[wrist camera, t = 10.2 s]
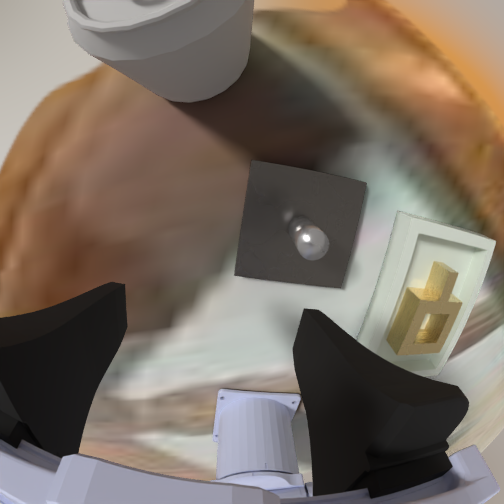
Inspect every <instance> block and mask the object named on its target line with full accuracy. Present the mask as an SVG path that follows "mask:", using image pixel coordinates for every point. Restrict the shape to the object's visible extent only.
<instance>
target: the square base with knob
mask: <svg viewBox="0 0 504 504" xmlns="http://www.w3.org/2000/svg"><path fill="white" fill-rule="evenodd" d="M366 184H367V183H366V182H362V181H358V180H354V179H349V178H345V177H341V176H336V175H332V174H327V173H322V172H317V171H313V170H308V169H302V168H297V167H292V166H286V165H281V164H275V163H269V162H263V161H256V160H251V165H250V172H249V178H248V184H247V191H246V197H245V204H244V211H243V217H242V224H241V230H240V237H239V244H238V251H237V258H236V265H235V272H234V276H242V277H249V278H257V279H265V280H273V281H282V282H290V283H299V284H307V285H316V286H325V287H334V288H341V285H342V282H343V279H344V275H345V271H346V268H347V264H348V261H349V257H350V253H351V249H352V245H353V241H354V237H355V233H356V229H357V225H358V221H359V216H360V212H361V207H362V203H363V198H364V193H365V189H366Z"/></svg>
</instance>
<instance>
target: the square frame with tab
mask: <svg viewBox="0 0 504 504" xmlns="http://www.w3.org/2000/svg"><path fill="white" fill-rule="evenodd" d="M458 274H459V273H458V272H456V271H455V270H454V269H452V268H451V267H449V266H448V265H446V264H445V263H443V262H437V261H434V262H433V265H432V268H431V271H430V274H429V277H428V280H427V283H426V286H425V289H424V288H413V287H407V288H406V290H405V293H404V296H403V299H402V301H401V304H400V307H399V309H398V312H397V315H396V317H395V320H394V322H393V325H392V327H391V329H390V332H389V334H388V337H387V339H386V340H387V342H388V343H389V345H390V346H391V348H392V349H393V351H394V352H395V354H396V355H417V354H431V353H440V351H441V349H442V347H443V345H444V343H445V341H446V339H447V337H448V335H449V333H450V331H451V329H452V327H453V324H454V322H455V320H456V318H457V315H458V313H459V311H460V308H461V306H462V304H463V302H462V301H461V300H459V299H458V298H457V297H456V296H454V295H453V294H452V290H453V288H454V285H455V282H456V280H457V277H458ZM426 314H431V315H430V317H429V320H428V322H427V324H426V327H425V329H420V327H421V324H422V322H423V320H424V317H425V315H426Z"/></svg>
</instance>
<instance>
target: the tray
mask: <svg viewBox="0 0 504 504" xmlns="http://www.w3.org/2000/svg"><path fill="white" fill-rule="evenodd" d="M495 243H496V241H494V240H492V239H490V238H488V237H486V236H484V235H482V234H479V233H476V232H473V231H469V230H466V229H463V228H459V227H456V226H453V225H449V224H446V223H442V222H438V221H435V220H431V219H428V218H424V217H420V216H416V215H412V214H408V213H404V212H400V211H397V214H396V218H395V222H394V226H393V230H392V234H391V237H390V241H389V245H388V248H387V252H386V255H385V259H384V262H383V266H382V269H381V272H380V275H379V279H378V282H377V285H376V288H375V291H374V294H373V297H372V300H371V303H370V305H369V308H368V311H367V314H366V317H365V319H364V322H363V325H362V327H361V330H360V332H359V335H358V338H357V341H358V342H359V343H361V344H362V345H363V346H365V347H366V348H368V349H369V350H371V351H372V352H374V353H375V354H377V355H378V356H380V357H382V358H384V359H385V360H387V361H389V362H391V363H393V364H394V365H397V366H399V367H401V368H403V369H405V370H407V371H410V372H412V373H415V374H417V375H420V376H423V377H429V376H437V375H439V373H440V372H441V370H442V368H443V366H444V365H445V363H446V361H447V359H448V358H449V356H450V354H451V352H452V350H453V348H454V346H455V344H456V342H457V340H458V338H459V336H460V334H461V332H462V330H463V328H464V326H465V324H466V322H467V320H468V317H469V315H470V313H471V311H472V308H473V306H474V303H475V301H476V299H477V296H478V294H479V291H480V288H481V286H482V283H483V280H484V278H485V275H486V272H487V269H488V266H489V263H490V260H491V257H492V254H493V250H494V247H495ZM434 261H437V262H443V263H445V264H446V265H448V266H449V267H451V268H452V269H454V270H455V271H456V272H458V273H459V274H458V277H457V280H456V282H455V285H454V288H453V290H452V294H453V295H454V296H456V297H457V298H458V299H459V300H461V301H462V302H463V304H462V306H461V308H460V311H459V313H458V315H457V318H456V320H455V322H454V324H453V327H452V329H451V331H450V333H449V335H448V337H447V339H446V341H445V343H444V345H443V347H442V349H441V351H440V353H431V354H417V355H396V354H395V352H394V351H393V349H392V348H391V346H390V345H389V343H388V342H387V340H386V339H387V337H388V334H389V332H390V329H391V327H392V325H393V322H394V320H395V317H396V315H397V312H398V309H399V307H400V304H401V301H402V299H403V296H404V293H405V290H406V288H407V287H413V288H424V289H425V286H426V283H427V280H428V277H429V274H430V271H431V268H432V265H433V262H434ZM430 315H431V314H426V315H425V317H424V320H423V322H422V324H421V327H420V329H425V327H426V324H427V322H428V320H429V317H430Z"/></svg>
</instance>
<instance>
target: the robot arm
mask: <svg viewBox="0 0 504 504" xmlns="http://www.w3.org/2000/svg"><path fill="white" fill-rule="evenodd" d="M126 329H127V313H126V295H125V284H120V283H115V282H110V283H107V284H104V285H102V286H99V287H97V288H95V289H92V290H90V291H88V292H86V293H84V294H81V295H79V296H77V297H75V298H72V299H70V300H67V301H65V302H62V303H60V304H57V305H54V306H52V307H49V308H46V309H42V310H39V311H35V312H31V313H26V314H21V315H16V316H11V317H3V318H0V503H1V504H484V503H485V502H486V501H488V500H489V499H490V498H491V497H493V496H494V495H495V494H497V493H498V492H499V491H500V487H499V485H498V483H497V482H496V480H495V478H494V476H493V474H492V473H491V471H490V469H489V467H488V466H487V464H486V462H485V460H484V458H483V457H482V456H481V453H480V452H479V450H478V448H477V447H476V445H471V446H469V447H467V448H464V449H462V450H460V451H457V452H455V453H453V454H452V455H451V456H449V457H448V456H447V454H446V453H445V451H446V450H447V449H448V448H449V445H448V443H447V441H446V439H447V438H448V437H449V435H450V434H451V433H452V432H453V431H454V430H455V428H456V427H457V426H458V425H459V423H460V422H461V421H462V419H463V418H464V417H465V415H466V413H467V410H468V406H469V401H468V399H467V398H466V396H465V395H464V394H463V392H462V391H461V390H460V388H459V387H458V386H455V385H451V384H447V383H443V382H439V381H435V380H431V379H428V378H426V377H423V376H420V375H417V374H415V373H412V372H410V371H407V370H405V369H403V368H401V367H399V366H397V365H394V364H393V363H391V362H389V361H387V360H385V359H384V358H382V357H380V356H378V355H377V354H375V353H374V352H372V351H371V350H369V349H368V348H366V347H365V346H363V345H362V344H361V343H359V342H358V341H357V340H355V339H354V338H353V337H351V336H350V335H349V334H348V333H346V332H345V331H344V330H343V329H342V328H340V327H339V326H338V325H337V324H336V323H334V322H333V321H332V320H331V319H330V318H329V317H327V316H326V315H325V314H324V313H322V312H321V311H319V310H315V309H304V310H303V314H302V317H301V321H300V325H299V328H298V332H297V335H296V339H295V342H294V346H293V358H294V367H295V372H296V376H297V380H298V384H299V388H300V391H301V395H302V399H303V403H304V407H305V410H306V415H307V420H308V428H309V436H310V446H311V457H312V477H313V483H312V482H308V483H305V486H304V481H303V475H302V474H301V473H300V474H299V468H298V462H297V456H296V450H295V444H294V438H293V433H292V427H291V421H292V419H293V417H294V414H295V412H296V410H297V407H298V405H299V402H300V400H301V396H300V395H299V394H289V393H267V392H252V391H240V390H230V389H220V390H219V391H218V398H217V406H216V414H215V422H214V431H213V441H214V442H218V450H217V469H216V480H211V481H203V480H195V479H187V478H181V477H175V476H169V475H164V474H159V473H154V472H149V471H145V470H141V469H136V468H132V467H129V466H125V465H121V464H118V463H114V462H111V461H108V460H104V459H101V458H97V457H92V456H88V455H84V454H80V453H79V454H78V452H79V447H80V443H81V438H82V434H83V430H84V426H85V423H86V419H87V416H88V413H89V410H90V407H91V404H92V401H93V398H94V395H95V393H96V390H97V388H98V386H99V384H100V382H101V380H102V378H103V376H104V374H105V373H106V371H107V369H108V367H109V365H110V363H111V362H112V360H113V358H114V356H115V354H116V352H117V351H118V349H119V347H120V345H121V342H122V340H123V337H124V335H125V332H126ZM293 401H294V402H293Z"/></svg>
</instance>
